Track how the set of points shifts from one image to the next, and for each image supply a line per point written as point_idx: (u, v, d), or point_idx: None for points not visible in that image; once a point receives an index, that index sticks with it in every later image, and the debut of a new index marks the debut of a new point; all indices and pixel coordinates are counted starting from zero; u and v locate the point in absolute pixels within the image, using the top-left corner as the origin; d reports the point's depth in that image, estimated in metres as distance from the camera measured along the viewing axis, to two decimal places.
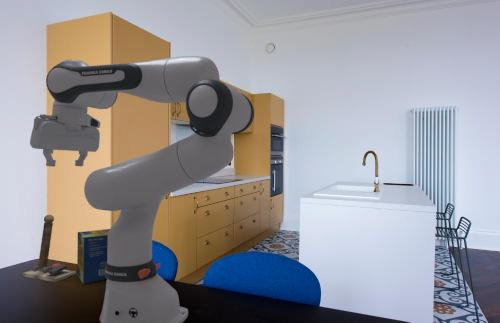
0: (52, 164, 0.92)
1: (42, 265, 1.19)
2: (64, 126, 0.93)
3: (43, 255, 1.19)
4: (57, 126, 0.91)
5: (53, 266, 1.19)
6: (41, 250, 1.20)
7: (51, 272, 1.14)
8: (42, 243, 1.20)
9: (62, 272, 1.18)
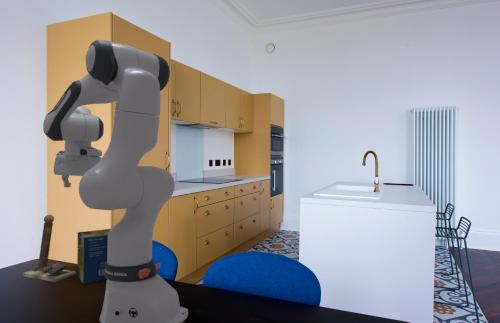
0: (65, 185, 1.26)
1: (42, 265, 1.19)
2: (67, 157, 1.25)
3: (43, 255, 1.19)
4: (63, 158, 1.25)
5: (53, 266, 1.19)
6: (41, 250, 1.20)
7: (51, 272, 1.14)
8: (42, 243, 1.20)
9: (62, 272, 1.18)
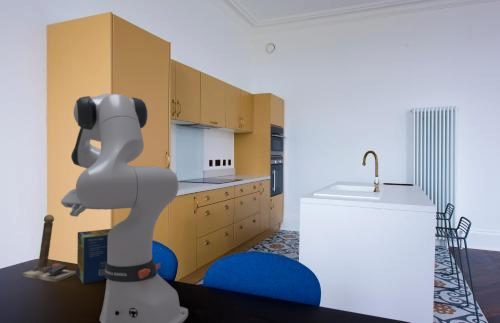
0: (71, 212, 1.32)
1: (42, 265, 1.19)
2: None
3: (43, 255, 1.19)
4: None
5: (53, 266, 1.19)
6: (41, 250, 1.20)
7: (51, 272, 1.14)
8: (42, 243, 1.20)
9: (62, 272, 1.18)
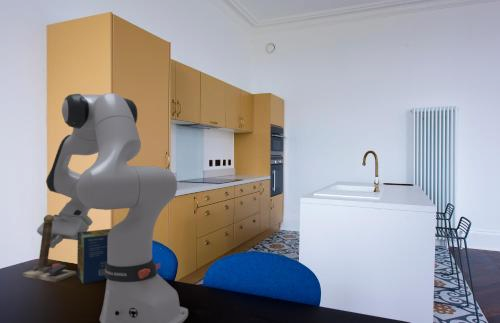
0: None
1: (42, 265, 1.19)
2: (59, 218, 1.29)
3: (43, 255, 1.19)
4: (54, 218, 1.30)
5: (53, 266, 1.19)
6: (41, 250, 1.20)
7: (51, 272, 1.14)
8: (42, 243, 1.20)
9: (62, 272, 1.18)
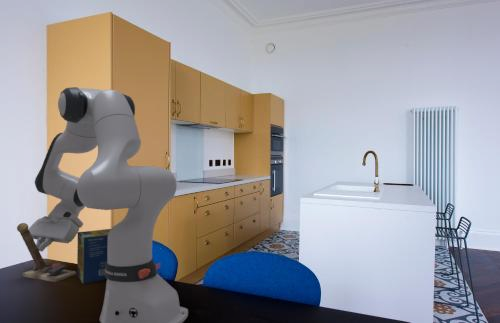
0: None
1: (40, 267, 1.18)
2: (48, 220, 1.25)
3: (36, 259, 1.17)
4: (44, 220, 1.26)
5: (53, 266, 1.19)
6: (32, 255, 1.17)
7: (51, 272, 1.14)
8: (29, 249, 1.16)
9: (62, 272, 1.18)
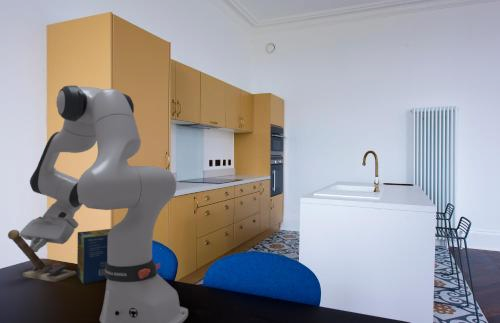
0: None
1: (40, 268, 1.18)
2: (43, 220, 1.23)
3: (34, 261, 1.16)
4: (39, 220, 1.24)
5: (53, 266, 1.19)
6: (29, 258, 1.16)
7: (51, 272, 1.14)
8: (25, 253, 1.15)
9: (62, 272, 1.18)
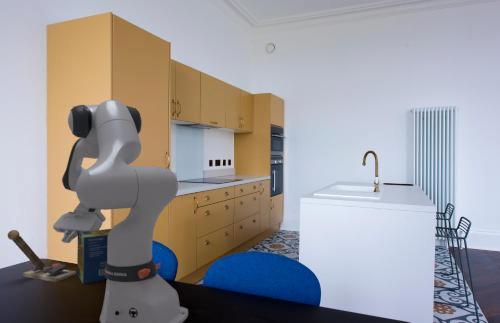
0: (62, 239, 1.29)
1: (40, 268, 1.18)
2: (74, 215, 1.36)
3: (34, 262, 1.16)
4: (69, 215, 1.37)
5: (53, 266, 1.19)
6: (29, 258, 1.16)
7: (51, 272, 1.14)
8: (25, 254, 1.15)
9: (62, 272, 1.18)
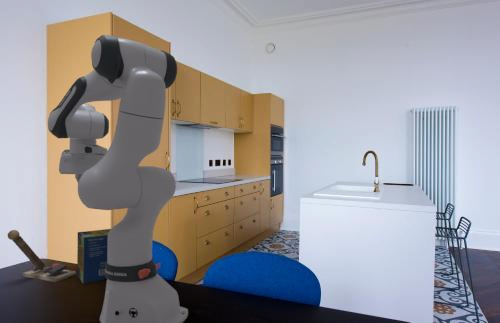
0: None
1: (40, 268, 1.18)
2: (72, 156, 1.22)
3: (34, 262, 1.16)
4: (68, 156, 1.23)
5: (53, 266, 1.19)
6: (29, 258, 1.16)
7: (51, 272, 1.14)
8: (25, 254, 1.15)
9: (62, 272, 1.18)
